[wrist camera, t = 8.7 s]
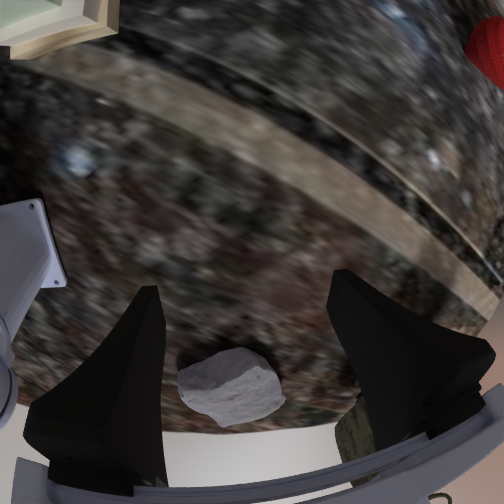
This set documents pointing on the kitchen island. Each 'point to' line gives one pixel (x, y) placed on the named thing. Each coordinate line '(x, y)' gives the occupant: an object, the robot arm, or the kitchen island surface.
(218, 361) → the stone block
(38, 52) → the maple base block
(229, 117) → the kitchen island surface
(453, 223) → the kitchen island surface
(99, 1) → the cream top block
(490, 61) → the strawberry
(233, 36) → the kitchen island surface
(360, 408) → the tabletop clock
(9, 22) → the sage cube
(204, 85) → the kitchen island surface
